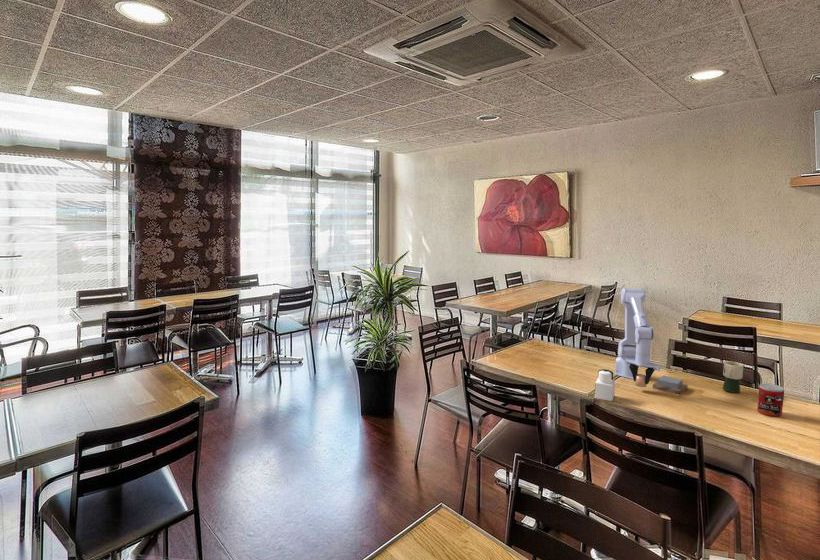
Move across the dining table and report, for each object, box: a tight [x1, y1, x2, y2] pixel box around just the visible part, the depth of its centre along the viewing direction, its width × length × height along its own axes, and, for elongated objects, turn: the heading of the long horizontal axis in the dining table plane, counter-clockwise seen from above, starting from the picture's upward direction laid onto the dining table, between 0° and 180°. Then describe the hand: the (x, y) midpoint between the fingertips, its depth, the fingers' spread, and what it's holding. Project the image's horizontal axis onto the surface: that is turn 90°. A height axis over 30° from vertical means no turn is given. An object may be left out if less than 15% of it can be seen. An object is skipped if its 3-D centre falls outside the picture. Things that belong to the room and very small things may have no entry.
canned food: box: [756, 383, 785, 418], centre depth 174 cm, size 8×8×11 cm
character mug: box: [722, 360, 744, 393], centre depth 197 cm, size 11×7×13 cm, turn 129°
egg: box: [635, 373, 648, 388], centre depth 199 cm, size 4×4×4 cm
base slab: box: [652, 380, 689, 396], centre depth 202 cm, size 11×11×2 cm
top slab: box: [657, 374, 684, 389], centre depth 202 cm, size 8×8×2 cm
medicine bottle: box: [594, 368, 616, 402], centre depth 192 cm, size 7×7×12 cm
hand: (641, 382), depth 199 cm, fingers closed on egg, 4 cm apart
